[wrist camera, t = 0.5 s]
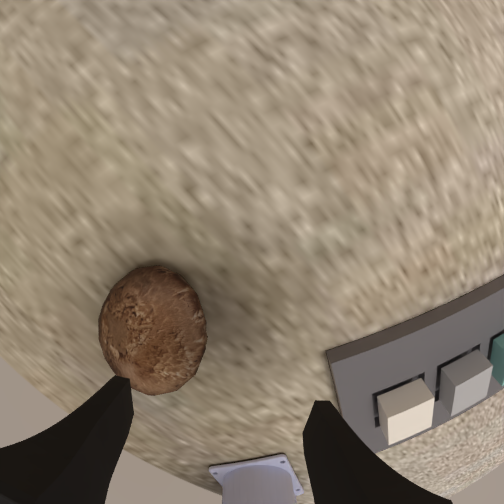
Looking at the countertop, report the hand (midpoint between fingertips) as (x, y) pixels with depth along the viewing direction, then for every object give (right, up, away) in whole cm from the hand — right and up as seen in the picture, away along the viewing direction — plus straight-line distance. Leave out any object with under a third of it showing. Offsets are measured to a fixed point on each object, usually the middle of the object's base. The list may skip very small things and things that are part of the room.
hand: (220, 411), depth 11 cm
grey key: (+19, -5, +11) cm, 23 cm away
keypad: (+19, -4, +12) cm, 23 cm away
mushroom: (-5, +2, +10) cm, 12 cm away
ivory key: (+14, -6, +11) cm, 19 cm away
